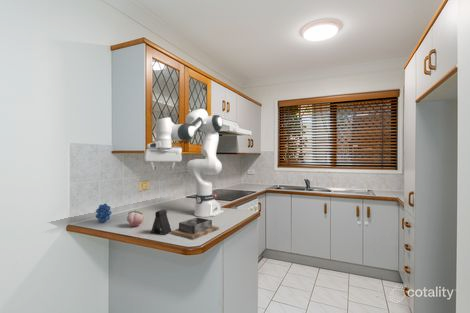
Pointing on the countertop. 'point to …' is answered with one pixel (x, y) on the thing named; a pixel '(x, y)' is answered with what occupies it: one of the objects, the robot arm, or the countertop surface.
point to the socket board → (195, 228)
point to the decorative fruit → (135, 218)
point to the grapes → (103, 213)
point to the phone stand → (161, 223)
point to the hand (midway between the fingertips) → (163, 169)
